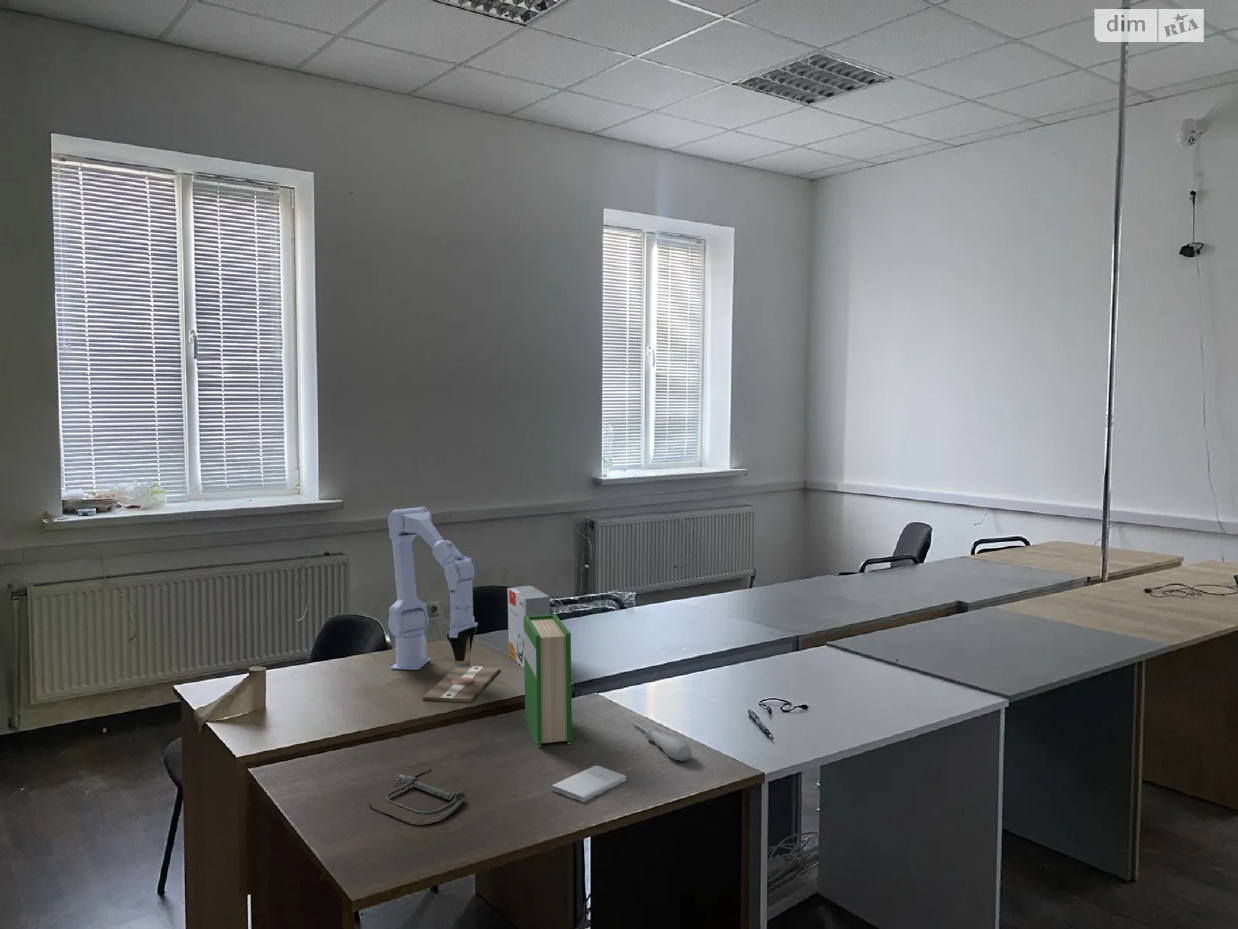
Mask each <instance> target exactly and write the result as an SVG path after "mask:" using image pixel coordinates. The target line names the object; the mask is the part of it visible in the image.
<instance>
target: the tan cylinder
mask: <svg viewBox="0 0 1238 929" xmlns="http://www.w3.org/2000/svg"><path fill="white" fill-rule="evenodd" d="M453 659H454V668H455V667H457V668H465V667H469V666H471V652H470V638H468V641H467V645H466V652H465V659H464V661H456V660H455V657H454V658H453Z"/></svg>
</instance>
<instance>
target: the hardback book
mask: <svg viewBox="0 0 1238 929" xmlns="http://www.w3.org/2000/svg"><path fill="white" fill-rule="evenodd" d="M571 639H572V637H571V632H570V630H569V629H568V628H567V627H566V625H565V624H564V623H563V622H562V621H561V619H560V618H559V617H558V615H557V614H556V613H554V614H550V615H537V616H524V668H523V670H524V713H525V714H524V719H526V720H525V721H527V722H526V723H528V724H527V726H529V727H528V729H529V728H530V729H529V731H530V730H531V731H530V733H531V732H532V734H531V735H533V736H532V738H533V737H534V738H533V740H534V739H535V741H534V743H535V742H536V743H535V745H536V744H537V746H542V747H543V744H549V743H556V742H557V743H559V742H566V741H567V742H566V744H567V743H572V744H573V727H572V726H573V721H572V720H573V716H572V715H573V714H572V713H573V712H572V704H573V703H572V640H571ZM537 746H536V747H537Z"/></svg>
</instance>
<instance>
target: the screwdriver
mask: <svg viewBox="0 0 1238 929" xmlns="http://www.w3.org/2000/svg"><path fill="white" fill-rule="evenodd" d="M630 722H631V723H632V724H633V725H634V726H636V727H638V728H639V729H641V730H642V731H644V732H645V735H644V736H645V739H646V740H647V741H648V740H650V741H653V742H652V743H655V745H656V746H657V747H658V748H660V747H661V750H662V751H663V752H664V753H665V755H666V756H667V757H669V758H670V757H671V758H670V759H672V758H673V759H672V760H674V759H675V760H674V761H677V760H680V761H679V762H685V761H687V760H689V759H691V757H692V748H691V746H690V745H689V744H688V743H687V741H685V740H683V739H682V738H679V737H677V736H672V735H669V734H667V733H666V732H661V730H660V729H659V728H658V727H656V726H651V727H649V728H646V727H644V725H643V726H642V725H641V724H639V723H637V722H636V721H634V720H631V721H630ZM650 741H649V742H650Z"/></svg>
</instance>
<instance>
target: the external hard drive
mask: <svg viewBox="0 0 1238 929" xmlns="http://www.w3.org/2000/svg"><path fill="white" fill-rule="evenodd" d="M626 777H627V776H626V775H625V774H622V773H620V772H617V771H614V770H612V769H609V768H606V767H603V766H601V765H593V766H592V767H589V768H587V769H585V770H582V771H580V772H578V773H576V774H574V775H571V776H569V777H567V778H565V779H563V780H560V781H559V782H556V783H554V784H552V785H551V786H550V788H551V787H552V788H554V789H556V790H560V791H562V792H565V793H567V794H571V795H573V796H575V797H578V798H581V799H582V800H584V799H585V798H587V797H590V796H591V795H593V794H596V793H598V792H599V791H601V790H604V789H606V788H607V787H610V786H611V785H613V784H616V783H617V782H618V781H620V780H623V779H625V778H626Z"/></svg>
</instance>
